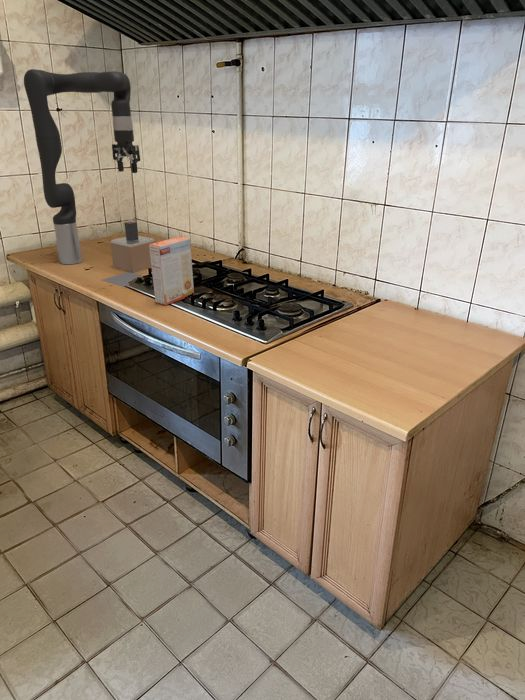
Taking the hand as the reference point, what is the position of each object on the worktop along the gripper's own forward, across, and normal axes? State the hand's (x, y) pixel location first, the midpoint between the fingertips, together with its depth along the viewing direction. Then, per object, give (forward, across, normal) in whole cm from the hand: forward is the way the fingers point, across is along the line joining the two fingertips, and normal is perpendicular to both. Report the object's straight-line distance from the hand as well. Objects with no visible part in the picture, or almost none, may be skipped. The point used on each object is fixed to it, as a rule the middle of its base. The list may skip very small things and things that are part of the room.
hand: (127, 172), depth 215 cm
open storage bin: (+38, +4, -4) cm, 39 cm away
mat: (+38, +15, -18) cm, 45 cm away
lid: (+27, +4, -4) cm, 28 cm away
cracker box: (+38, +47, -22) cm, 64 cm away
